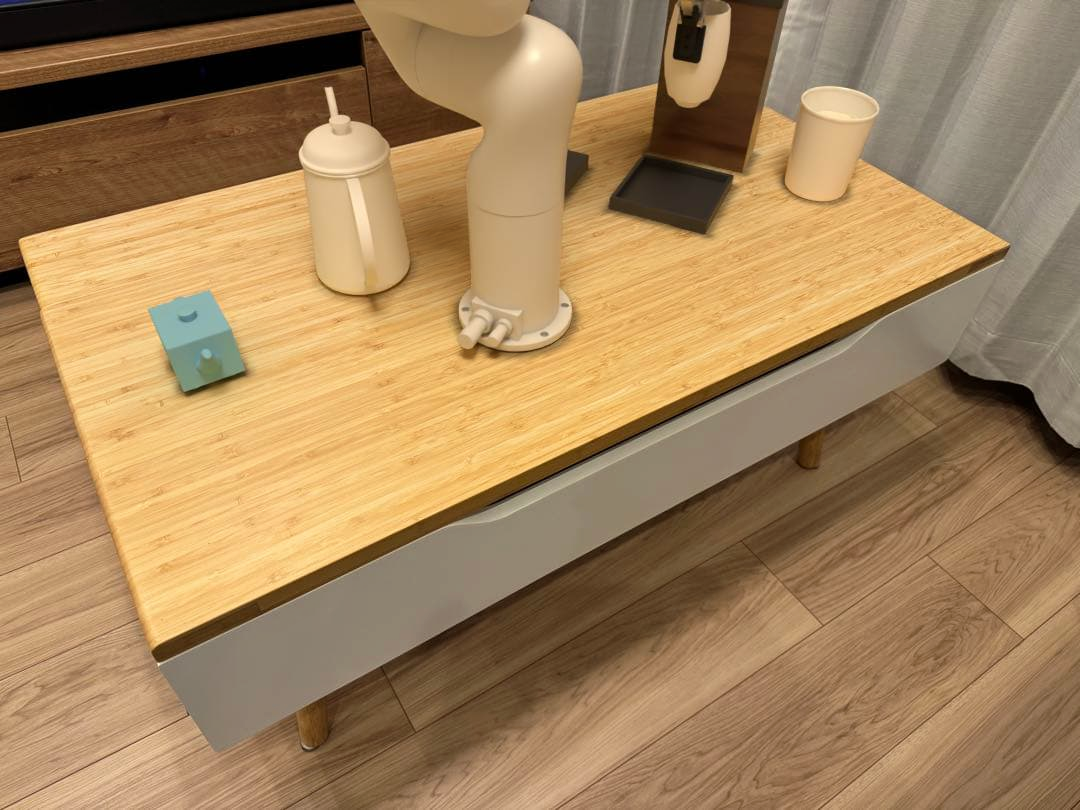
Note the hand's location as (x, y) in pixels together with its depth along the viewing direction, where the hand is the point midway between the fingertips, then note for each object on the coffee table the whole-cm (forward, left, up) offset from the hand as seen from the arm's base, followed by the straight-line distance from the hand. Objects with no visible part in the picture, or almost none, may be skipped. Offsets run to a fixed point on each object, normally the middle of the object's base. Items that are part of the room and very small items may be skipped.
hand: (696, 47), depth 91 cm
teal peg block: (-54, +32, -20) cm, 66 cm away
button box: (-4, +18, -20) cm, 27 cm away
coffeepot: (-32, +28, -20) cm, 47 cm away
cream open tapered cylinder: (+12, -17, -20) cm, 29 cm away
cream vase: (0, 0, -16) cm, 16 cm away
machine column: (+14, 0, -20) cm, 24 cm away
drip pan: (0, 0, -20) cm, 20 cm away
